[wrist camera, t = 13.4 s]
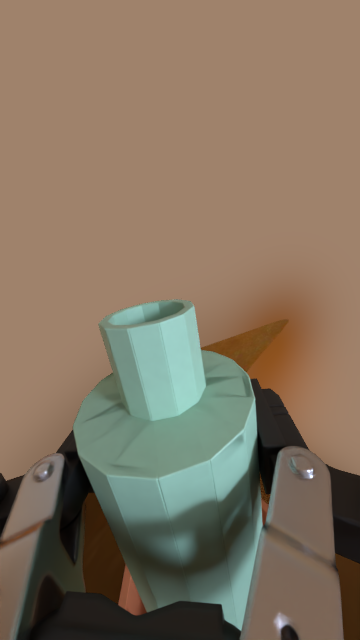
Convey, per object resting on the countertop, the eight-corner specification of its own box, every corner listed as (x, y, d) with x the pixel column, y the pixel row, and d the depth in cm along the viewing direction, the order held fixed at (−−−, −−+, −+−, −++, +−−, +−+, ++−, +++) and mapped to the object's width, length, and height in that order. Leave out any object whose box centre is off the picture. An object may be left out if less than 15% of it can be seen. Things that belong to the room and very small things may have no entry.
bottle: (195, 750, 6) (26, 417, 2) (128, 546, 11) (37, 324, 7) (290, 571, 10) (294, 293, 5) (206, 472, 15) (173, 288, 10)
